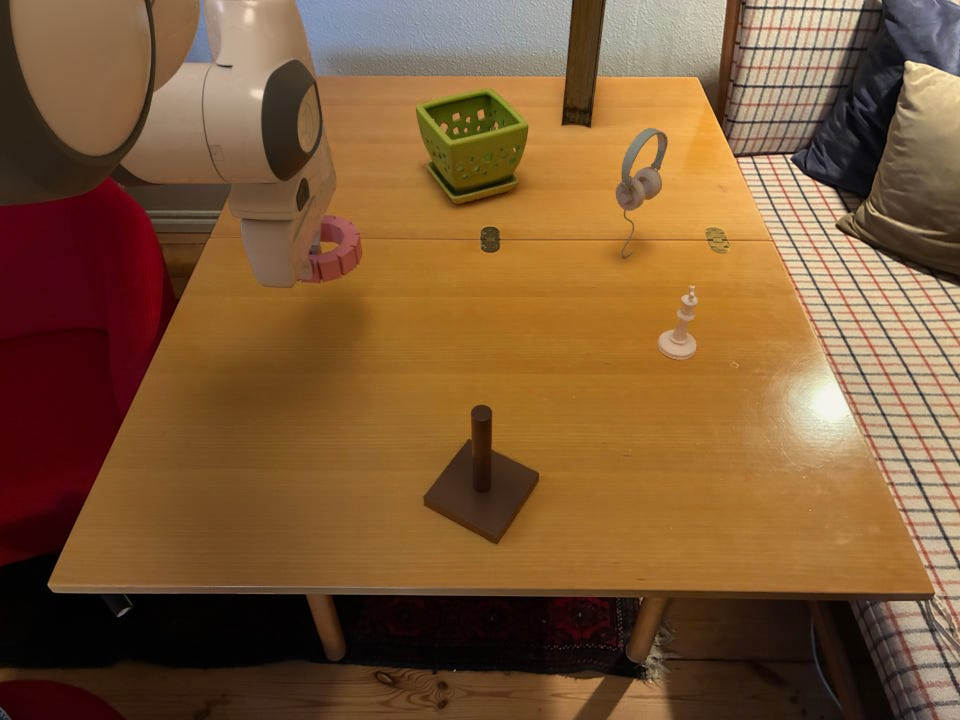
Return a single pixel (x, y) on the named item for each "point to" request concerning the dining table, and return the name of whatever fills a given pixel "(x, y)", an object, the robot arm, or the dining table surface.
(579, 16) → the book
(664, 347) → the chess piece
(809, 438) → the dining table surface
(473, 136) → the flower pot
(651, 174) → the headphones
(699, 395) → the dining table surface
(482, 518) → the stand
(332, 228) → the ring
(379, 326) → the dining table surface
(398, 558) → the dining table surface
